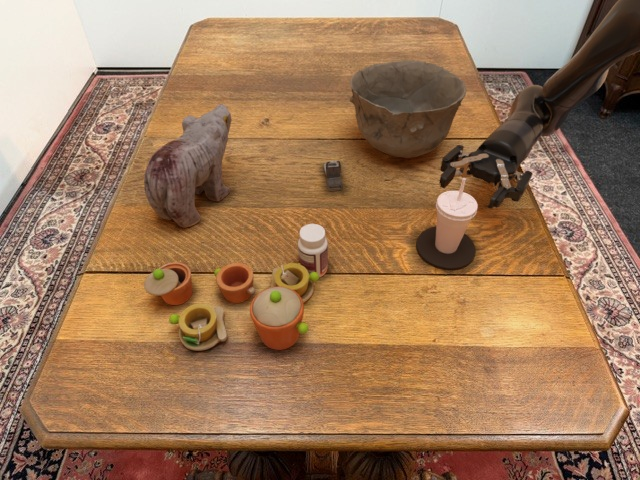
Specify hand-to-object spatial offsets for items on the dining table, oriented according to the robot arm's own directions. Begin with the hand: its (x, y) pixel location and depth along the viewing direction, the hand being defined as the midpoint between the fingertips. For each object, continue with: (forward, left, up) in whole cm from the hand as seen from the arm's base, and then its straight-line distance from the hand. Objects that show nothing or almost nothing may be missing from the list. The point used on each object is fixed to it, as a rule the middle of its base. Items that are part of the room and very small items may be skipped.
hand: (466, 193), depth 77 cm
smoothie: (+2, +3, -9) cm, 10 cm away
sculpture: (+49, 0, -10) cm, 49 cm away
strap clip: (+25, -12, -10) cm, 29 cm away
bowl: (+13, -26, -10) cm, 30 cm away
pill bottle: (+23, +13, -10) cm, 28 cm away
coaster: (+2, +3, -10) cm, 10 cm away
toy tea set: (+32, +24, -10) cm, 42 cm away
